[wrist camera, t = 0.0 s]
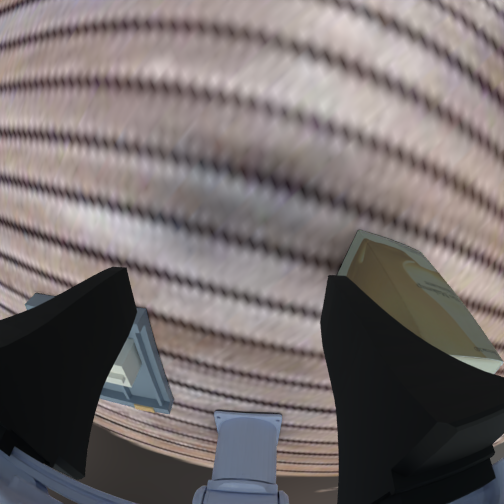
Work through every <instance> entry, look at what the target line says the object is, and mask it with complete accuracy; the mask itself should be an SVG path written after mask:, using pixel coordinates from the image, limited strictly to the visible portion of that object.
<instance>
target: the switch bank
mask: <svg viewBox="0 0 504 504" xmlns="http://www.w3.org/2000/svg"><path fill="white" fill-rule="evenodd" d="M54 297H55V296H49V295H43V294H37V293H35V294H34V295H33V296H32V297H31V298H30V299H29V301H28V302H27V303H26V304H25V306H26V308H27V310H29V309H31V308H33V307H36V306H38V305H40V304H42V303H44V302H46V301H48V300H50V299H52V298H54ZM136 309H137V314H136V317H135V320H134V323H133V326H132V329H131V331H130V334H129V336H128V338H129V339H134V342H135V345H136V348H137V351H138V353H139V356H140V359H141V362H142V365H141V367H140V369H139V372H138V374H137V376H136V379H135V381H134V383H133V386H132V388H131V387H127V386H122V385H118V384H113V383H109V382H105V384H104V386H103V389H102V392H101V395H100V399H103V400H107V401H111V402H115V403H118V404H122V405H127V406H131V407H135V408H136V409H139V410H143V411H148V412H153V413H155V412H159V413H165V414H170V411H171V408H172V404H173V401H174V399H173V396H172V393H171V391H170V388H169V385H168V382H167V379H166V376H165V373H164V370H163V367H162V364H161V360H160V357H159V354H158V351H157V347H156V344H155V340H154V337H153V333H152V330H151V326H150V322H149V318H148V315H147V311H146V308H137V307H136Z"/></svg>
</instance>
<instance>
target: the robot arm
mask: <svg viewBox="0 0 504 504" xmlns="http://www.w3.org/2000/svg"><path fill="white" fill-rule="evenodd" d="M136 314H137V309H136V305H135V301H134V297H133V293H132V289H131V285H130V281H129V277H128V272H127V268H125V267H111V268H108V269H106V270H104V271H102V272H100V273H98V274H96V275H94V276H92V277H90V278H88V279H87V280H85V281H83V282H81V283H79V284H78V285H76V286H74V287H72V288H70V289H69V290H67V291H65V292H63V293H61V294H59V295H57V296H55V297H54V298H52V299H50V300H48V301H46V302H44V303H42V304H40V305H38V306H36V307H33V308H31V309H29V310H27V311H24V312H22V313H19V314H16V315H14V316H11V317H8V318H5V319H2V320H0V504H63V503H61V502H60V501H58V500H56V499H54V498H52V497H51V496H50V495H49V494H48V490H47V488H46V487H48V488H50V489H51V490H53V491H55V492H57V493H59V494H60V495H62V496H64V497H66V498H68V499H70V500H72V501H74V502H76V503H79V504H137V503H134V502H130V501H127V500H124V499H121V498H118V497H115V496H113V495H110V494H107V493H104V492H102V491H99V490H97V489H94V488H92V487H89V486H87V485H85V484H82V483H80V482H78V481H76V480H74V479H82V478H83V477H85V467H86V457H87V448H88V443H89V437H90V432H91V427H92V423H93V419H94V415H95V411H96V408H97V404H98V401H99V398H100V395H101V392H102V389H103V386H104V384H105V382H106V379H107V377H108V375H109V373H110V371H111V369H112V367H113V365H114V363H115V361H116V359H117V357H118V355H119V353H120V352H121V350H122V348H123V346H124V344H125V342H126V340H127V338H128V336H129V334H130V331H131V329H132V326H133V323H134V320H135V317H136ZM320 324H321V335H322V344H323V350H324V354H325V359H326V363H327V367H328V372H329V376H330V381H331V385H332V390H333V394H334V399H335V406H336V415H337V428H338V449H339V483H338V503H337V504H504V458H502V459H501V460H499V461H497V462H496V463H494V464H493V465H492V464H491V461H490V458H491V457H492V456H493V455H494V453H495V451H494V448H493V445H492V444H493V443H494V442H495V441H496V440H497V439H498V438H499V437H501V436H502V435H503V434H504V377H501V376H498V375H495V374H492V373H489V372H486V371H483V370H481V369H478V368H476V367H474V366H471V365H469V364H467V363H464V362H462V361H460V360H458V359H456V358H454V357H452V356H450V355H449V354H447V353H445V352H443V351H441V350H440V349H438V348H436V347H434V346H433V345H431V344H429V343H428V342H426V341H425V340H423V339H422V338H420V337H419V336H417V335H416V334H414V333H413V332H411V331H410V330H409V329H407V328H406V327H405V326H403V325H402V324H401V323H399V322H398V321H397V320H396V319H394V318H393V317H392V316H391V315H389V314H388V313H387V312H386V311H385V310H384V309H382V308H381V307H380V306H379V305H378V304H377V303H376V302H374V301H373V300H372V299H371V298H370V297H369V296H368V295H367V294H366V293H365V292H363V291H362V290H361V289H360V288H359V287H358V286H357V285H356V284H355V283H354V282H353V281H351V280H350V279H349V278H348V277H347V276H341V275H328V280H327V287H326V293H325V299H324V304H323V310H322V315H321V321H320ZM214 417H215V422H216V427H217V431H218V441H217V448H216V455H215V461H214V468H213V474H212V480H208V485H207V486H201V488H199V489H198V490H197V491H196V492H195V495H194V498H193V502H192V504H289V498H288V495H287V494H286V493H284V491H278V485H277V484H276V453H277V444H278V439H279V433H280V428H281V422H282V415H280V414H255V413H237V412H224V411H215V412H214ZM43 463H44V464H46V465H48V466H49V467H48V466H46V465H44V464H43ZM50 467H51V468H54V469H56V470H58V471H60V472H62V473H64V474H66V475H68V476H70V477H72V478H74V479H72V478H69V477H67V476H65V475H63V474H61V473H59V472H57V471H55V470H53V469H51V468H50ZM45 486H46V487H45Z"/></svg>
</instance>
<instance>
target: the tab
mask: <svg viewBox="0 0 504 504" xmlns="http://www.w3.org/2000/svg"><path fill="white" fill-rule="evenodd" d="M141 365H142V362H141V359H140V356H139V353H138V351H137V348H136V345H135V342H134V339H129V338H127V340H126V342H125V344H124V346H123V348H122V350H121V352H120V353H119V355H118V357H117V359H116V361H115V363H114V365H113V367H112V369H111V371H110V373H109V375H108V377H107V379H106V382H109V383H113V384H118V385H122V386H127V387H131V388H132V386H133V383H134V381H135V379H136V376H137V374H138V372H139V369H140V367H141Z"/></svg>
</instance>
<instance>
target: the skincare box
mask: <svg viewBox="0 0 504 504" xmlns="http://www.w3.org/2000/svg"><path fill="white" fill-rule="evenodd" d="M337 275H341V276H347V277H348V278H349V279H350V280H351V281H353V282H354V283H355V284H356V285H357V286H358V287H359V288H360V289H361V290H362V291H363V292H365V293H366V294H367V295H368V296H369V297H370V298H371V299H372V300H373V301H374V302H376V303H377V304H378V305H379V306H380V307H381V308H382V309H384V310H385V311H386V312H387V313H388V314H389V315H391V316H392V317H393V318H394V319H396V320H397V321H398V322H399V323H401V324H402V325H403V326H405V327H406V328H407V329H409V330H410V331H411V332H413V333H414V334H416V335H417V336H419V337H420V338H422V339H423V340H425V341H426V342H428V343H429V344H431V345H433V346H434V347H436V348H438V349H440V350H441V351H443V352H445V353H447V354H449V355H450V356H452V357H454V358H456V359H458V360H460V361H462V362H464V363H467V364H469V365H471V366H474V367H476V368H478V369H481V370H483V371H486V372H489V373H492V374H495V372H496V371H497V370H498V369H499V368H500V366H501V365H502V364H503V360H502V359H501V357H500V356H499V354H498V353H497V351H496V350H495V348H494V347H493V345H492V344H491V342H490V341H489V339H488V338H487V336H486V335H485V333H484V332H483V330H482V329H481V327H480V326H479V325H478V323H477V322H476V320H475V319H474V317H473V316H472V315H471V313H470V312H469V311H468V309H467V308H466V307H465V305H464V304H463V303H462V301H461V300H460V299H459V297H458V296H457V295H456V294H455V292H454V291H453V290H452V288H451V287H450V286H449V285H448V284H447V282H446V281H445V280H444V279H443V278H442V276H441V275H440V274H439V273H438V271H437V270H436V269H435V268H434V267H433V266H432V264H431V263H430V262H429V261H428V260H427V259H426V257H425V256H424V255H423V254H422V253H421V252H419V251H417V250H415V249H412V248H410V247H408V246H405V245H403V244H400V243H398V242H395V241H393V240H390V239H387V238H384V237H381V236H378V235H375V234H372V233H368V232H365V231H362V230H358V232H357V234H356V236H355V238H354V240H353V242H352V244H351V246H350V249H349V251H348V253H347V255H346V257H345V259H344V261H343V263H342V266H341V268H340V270H339V272H338V274H337Z"/></svg>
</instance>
